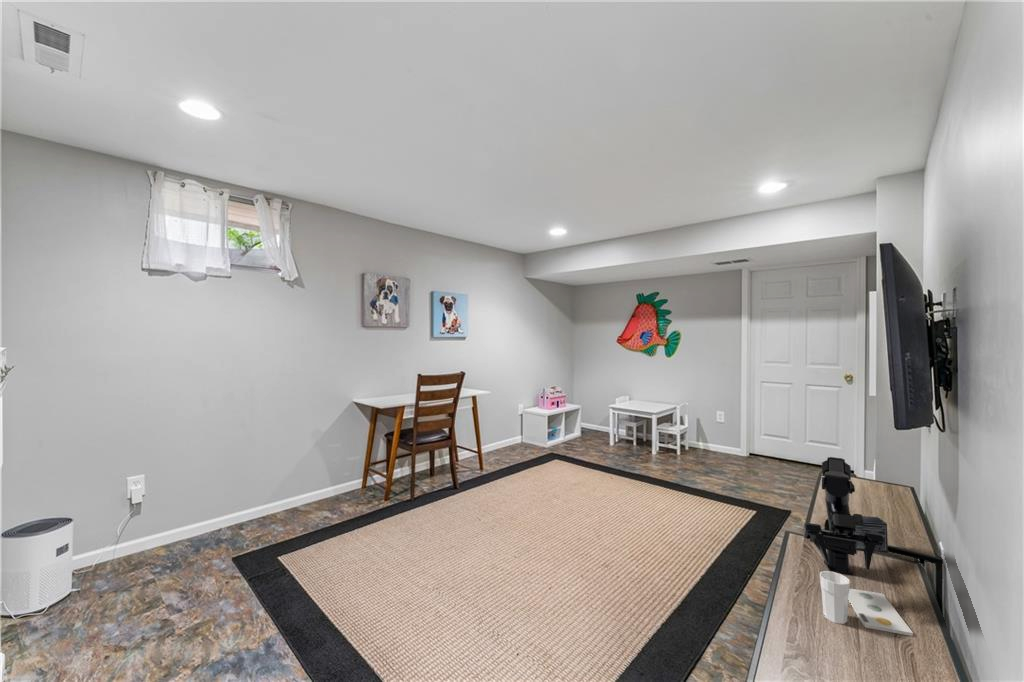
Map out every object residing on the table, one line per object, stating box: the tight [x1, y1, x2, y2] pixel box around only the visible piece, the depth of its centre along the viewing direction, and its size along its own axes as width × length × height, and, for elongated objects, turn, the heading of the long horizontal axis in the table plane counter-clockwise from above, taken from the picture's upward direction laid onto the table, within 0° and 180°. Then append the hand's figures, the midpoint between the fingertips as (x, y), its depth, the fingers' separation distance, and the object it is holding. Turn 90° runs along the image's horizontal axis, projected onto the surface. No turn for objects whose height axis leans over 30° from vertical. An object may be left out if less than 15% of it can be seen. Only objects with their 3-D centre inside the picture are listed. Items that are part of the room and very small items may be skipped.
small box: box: [851, 514, 889, 554], centre depth 155 cm, size 11×6×10 cm, turn 74°
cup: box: [819, 570, 851, 625], centre depth 117 cm, size 7×7×11 cm
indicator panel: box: [848, 588, 914, 637], centre depth 120 cm, size 18×10×1 cm, turn 158°
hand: (847, 566), depth 121 cm, fingers open, 9 cm apart
